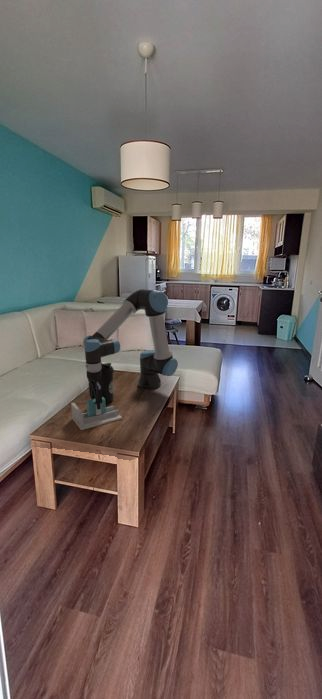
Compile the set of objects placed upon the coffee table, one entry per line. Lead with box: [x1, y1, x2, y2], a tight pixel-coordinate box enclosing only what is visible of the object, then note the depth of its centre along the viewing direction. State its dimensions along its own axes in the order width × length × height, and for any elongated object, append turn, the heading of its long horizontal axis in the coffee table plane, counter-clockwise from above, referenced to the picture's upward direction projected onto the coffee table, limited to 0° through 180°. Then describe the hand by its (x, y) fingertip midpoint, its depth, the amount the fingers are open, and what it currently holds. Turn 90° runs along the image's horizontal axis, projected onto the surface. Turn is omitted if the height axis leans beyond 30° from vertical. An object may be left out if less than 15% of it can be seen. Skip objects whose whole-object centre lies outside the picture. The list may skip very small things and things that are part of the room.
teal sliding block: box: [85, 397, 107, 417], centre depth 170 cm, size 9×4×10 cm, turn 121°
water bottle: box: [99, 362, 115, 404], centre depth 191 cm, size 10×10×23 cm
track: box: [70, 402, 123, 431], centre depth 171 cm, size 22×14×9 cm, turn 122°
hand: (96, 412), depth 171 cm, fingers open, 5 cm apart
